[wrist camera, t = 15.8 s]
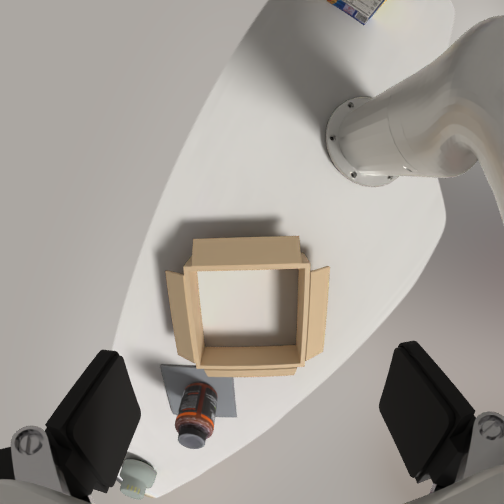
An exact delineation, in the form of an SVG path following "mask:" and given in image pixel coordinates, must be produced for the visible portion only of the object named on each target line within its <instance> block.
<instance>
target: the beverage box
mask: <svg viewBox="0 0 504 504" xmlns="http://www.w3.org/2000/svg"><path fill="white" fill-rule="evenodd" d="M327 1H328V2H329V3H331V4H333V5H334V6H336V7H337V8H339V9H341V10H342V11H344V12H345V13H347V14H348V15H350V16H351V17H353V18H354V19H356V20H357V21H359V22H360V23H361V24H363V25H365V24H366V22H367V21H368V20H369V19H370V18H371V17H372V16H373V15H374V14H375V12H376V11H377V10H378V9H379V8H380V7H381V6H382V5H383V4H384V3H385V2H386V0H327Z"/></svg>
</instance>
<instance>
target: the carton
mask: <svg viewBox="0 0 504 504" xmlns="http://www.w3.org/2000/svg"><path fill="white" fill-rule="evenodd" d="M183 269H184V274H180V273H176V272H172V271H169V270H167V271H165V273H166V281H167V289H168V296H169V303H170V310H171V317H172V323H173V329H174V335H175V341H176V347H177V352H178V355H179V356H181V357H183V358H185V359H187V360H189V361H191V362H193V363H196V368H197V369H204V371H205V373H206V374H207V376H208V377H266V376H287V375H294V374H295V372H296V369H297V367H304V366H305V361H307V360H309V359H311V358H312V357H314V356H316V355H318V354H320V353H321V352H323V347H324V337H325V327H326V316H327V303H328V289H329V272H330V267H329V266H326V267H323V268H319V269H316V270H313V271H310V262H309V261H308V259H307V258H306V256H305V255H304V253H301V252H300V240H299V236H275V237H238V238H206V239H193V250H192V256H191V257H190V258H189V260H188V261H187V262H186V264H185V265H184V266H183ZM269 269H299V272H298V307H297V332H296V345H282V346H256V347H205V342H204V334H203V326H202V317H201V308H200V298H199V288H198V277H197V271H231V270H269Z"/></svg>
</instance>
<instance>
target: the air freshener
mask: <svg viewBox="0 0 504 504" xmlns="http://www.w3.org/2000/svg"><path fill="white" fill-rule="evenodd" d="M156 475H157V472H156V471H155V470H154V469H153V468H152V467H151V466H149V465H148V464H146V463H144V462H142V461H139V460H134V459H126V460H125V462H124V464H123V467H122V470H121V472H120V477H121V478H122V479H123V481H122V484H121V487H120V491H121V492H122V493H123V494H124V495H126V496H128V497H130V498H133V499H142V498H143V497H144V494H145V490H146V488H151V487H152V485H153V483H154V481H155V478H156Z"/></svg>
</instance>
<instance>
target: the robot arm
mask: <svg viewBox="0 0 504 504" xmlns="http://www.w3.org/2000/svg"><path fill="white" fill-rule="evenodd" d="M348 105H349V106H350V108H349V107H348ZM330 137H332V138H333V140H331V139H330ZM326 145H327V150H328V153H329V156H330V158H331V160H332V162H333V163H334V165H335V167H336V168H337V169H338V170H339V172H340V173H341V174H343V175H344V176H345V177H346V178H347V179H349V180H351V181H352V182H354V183H356V184H359V185H362V186H368V187H379V186H384V185H387V184H389V183H391V182H393V181H394V180H395V179H397V178H398V177H399V176H413V177H438V178H451V177H456V176H459V175H461V174H463V173H465V172H467V171H468V170H470V169H471V168H472V167H473V166H474V165H475V163H476V162H477V161H479V163H480V165H481V167H482V169H483V171H484V173H485V176H486V178H487V181H488V183H489V185H490V187H491V188H492V191H493V193H494V196H495V199H496V202H497V205H498V208H499V211H500V215H501V217H502V221H503V224H504V16H495V17H491V18H488V19H486V20H484V21H481V22H479V23H478V24H476V25H474V26H473V27H472V28H471V29H469V30H468V31H467V32H465V33H464V34H463V35H462V36H461V37H460V38H459V39H458V40H457V41H455V42H454V43H453V44H452V45H451V46H450V47H449V48H448V49H447V50H446V51H445V52H444V53H443V54H442V55H441V56H439V57H438V58H437V59H436V60H434V61H433V62H432V63H430V64H429V65H427V66H426V67H424V68H423V69H421V70H419V71H418V72H416V73H415V74H413V75H411V76H410V77H408V78H406V79H404V80H403V81H401V82H399V83H397V84H396V85H394V86H392V87H391V88H389V89H387V90H386V91H384V92H382V93H381V94H379V95H377V96H376V97H374V98H369V97H358V98H353V99H350V100H348V101H346V102H344V103H343V104H341V105H340V106H339V107H338V108H337V109H335V111H334V112H333V114H332V115H331V116H330V119H329V121H328V123H327V128H326ZM351 173H353V176H351ZM387 176H389V177H387ZM379 409H380V412H381V414H382V417H383V419H384V421H385V423H386V425H387V427H388V429H389V431H390V433H391V435H392V437H393V439H394V442H395V444H396V446H397V448H398V450H399V453H400V455H401V457H402V459H403V461H404V463H405V466H406V468H407V470H408V472H409V474H410V476H411V477H413V478H414V477H415V479H416V481H417V483H420V482H423V481H425V480H428V479H432V481H433V485H432V488H431V491H430V493H429V494H428V495H426V496H423V497H421V498H418V499H415V500H413V501H410V502H407V503H404V504H504V416H502V415H500V414H499V413H496V412H484V413H482V414H480V415H479V416H478V417H477V418H476V417H475V416H474V413H475V410H474V409H473V407H472V406H471V405H470V404H469V402H468V401H467V400H466V399H465V398H464V396H463V395H462V394H461V393H460V391H459V390H458V389H457V388H456V387H455V385H454V384H453V383H452V382H451V381H450V379H449V378H448V377H447V376H446V375H445V373H444V372H443V371H442V370H441V369H440V368H439V367H438V365H437V364H436V363H435V362H434V361H433V359H432V358H431V357H430V356H429V355H428V354H427V353H426V352H425V350H424V349H423V348H422V347H421V346H420V345H419V344H418V343H417V342H416V341H409V342H404V343H400V344H399V346H398V348H396V349H395V350H394V353H393V357H392V361H391V365H390V369H389V373H388V376H387V380H386V383H385V386H384V390H383V393H382V396H381V399H380V403H379ZM140 417H141V411H140V407H139V405H138V402H137V399H136V396H135V393H134V390H133V388H132V385H131V381H130V378H129V375H128V372H127V369H126V366H125V362H124V359H123V357H122V356H119V354H118V352H116V351H109V350H101V351H100V352H99V353H98V354H97V355H96V357H95V358H94V359H93V361H92V362H91V363H90V364H89V366H88V367H87V368H86V370H85V371H84V372H83V374H82V375H81V376H80V378H79V379H78V380H77V382H76V383H75V384H74V386H73V387H72V388H71V390H70V391H69V392H68V394H67V395H66V396H65V398H64V399H63V401H62V402H61V403H60V405H59V406H58V407H57V409H56V410H55V412H54V413H53V415H52V416H51V417H50V419H49V420H48V421H47V423H46V424H45V425H46V426H47V428H46V430H45V431H44V430H43V429H41V428H39V427H36V426H26V427H23V428H21V429H19V430H18V431H17V432H16V433H15V434H14V435H13V437H12V440H11V447H8V448H5V449H0V504H95V502H94V500H93V498H92V495H91V493H92V491H93V489H95V490H98V491H101V492H104V493H107V491H108V489H109V487H113V485H114V484H115V481H116V478H117V476H118V473H119V471H120V468H121V465H122V463H123V460H124V458H125V455H126V453H127V450H128V448H129V445H130V443H131V440H132V438H133V435H134V433H135V430H136V428H137V425H138V423H139V420H140Z"/></svg>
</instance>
